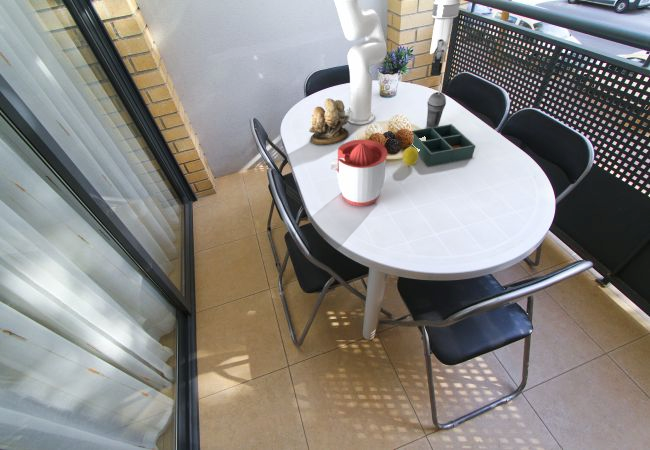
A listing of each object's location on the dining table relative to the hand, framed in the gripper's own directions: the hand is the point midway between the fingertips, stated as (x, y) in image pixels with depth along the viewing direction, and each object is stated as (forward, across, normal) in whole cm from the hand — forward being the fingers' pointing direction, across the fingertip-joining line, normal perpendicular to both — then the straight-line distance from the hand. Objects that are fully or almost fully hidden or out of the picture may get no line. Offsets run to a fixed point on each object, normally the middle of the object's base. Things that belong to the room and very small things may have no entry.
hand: (436, 70), depth 107 cm
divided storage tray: (+29, +2, +6) cm, 30 cm away
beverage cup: (+29, -15, +2) cm, 33 cm away
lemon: (+29, +15, -4) cm, 33 cm away
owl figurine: (+29, 0, -39) cm, 49 cm away
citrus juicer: (+29, +36, -19) cm, 50 cm away
